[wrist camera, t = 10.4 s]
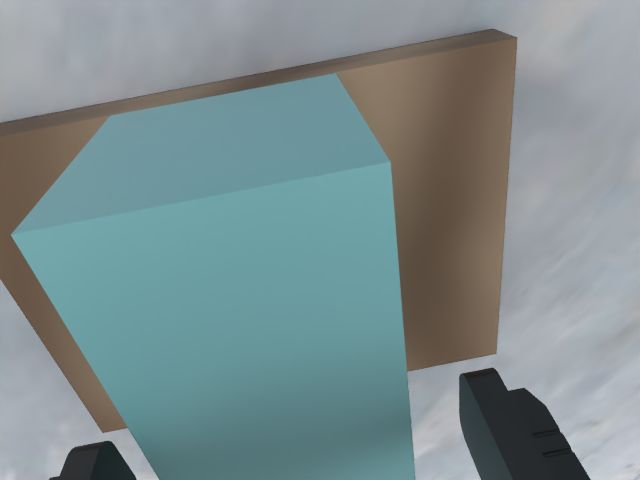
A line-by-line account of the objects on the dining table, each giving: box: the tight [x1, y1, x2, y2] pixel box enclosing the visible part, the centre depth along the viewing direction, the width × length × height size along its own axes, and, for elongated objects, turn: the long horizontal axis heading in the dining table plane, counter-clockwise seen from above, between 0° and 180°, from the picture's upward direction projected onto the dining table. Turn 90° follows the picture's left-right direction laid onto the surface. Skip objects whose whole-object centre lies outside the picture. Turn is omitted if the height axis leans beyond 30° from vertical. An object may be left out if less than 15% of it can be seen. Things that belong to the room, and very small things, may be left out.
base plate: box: [0, 29, 517, 433], centre depth 15 cm, size 16×12×4 cm
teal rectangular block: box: [11, 73, 415, 480], centre depth 13 cm, size 6×12×6 cm, turn 9°
